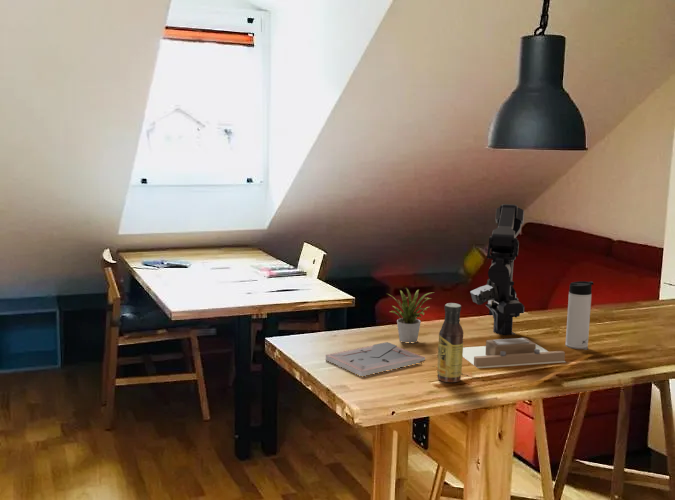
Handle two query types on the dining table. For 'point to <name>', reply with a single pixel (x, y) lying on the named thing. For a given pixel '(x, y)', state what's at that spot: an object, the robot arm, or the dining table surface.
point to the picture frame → (374, 358)
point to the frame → (509, 346)
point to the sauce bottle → (450, 345)
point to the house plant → (409, 317)
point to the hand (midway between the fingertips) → (498, 330)
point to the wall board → (511, 357)
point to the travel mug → (578, 314)
